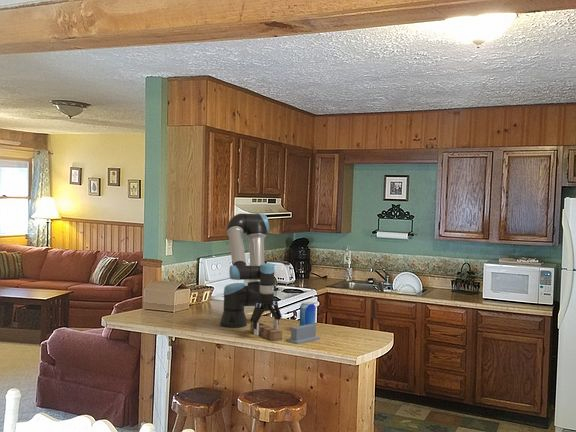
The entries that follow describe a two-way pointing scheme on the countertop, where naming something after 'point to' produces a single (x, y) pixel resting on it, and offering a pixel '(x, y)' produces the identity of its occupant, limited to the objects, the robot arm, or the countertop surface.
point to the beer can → (307, 313)
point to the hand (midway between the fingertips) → (265, 333)
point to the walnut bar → (268, 332)
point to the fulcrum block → (303, 334)
